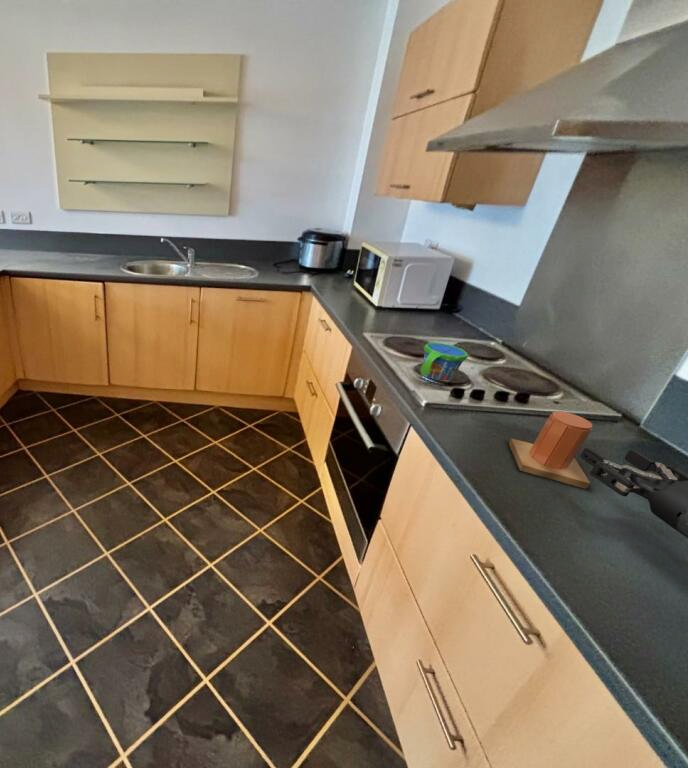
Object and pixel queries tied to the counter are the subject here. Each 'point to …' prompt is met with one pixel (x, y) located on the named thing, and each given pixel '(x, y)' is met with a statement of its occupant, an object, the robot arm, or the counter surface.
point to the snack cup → (441, 361)
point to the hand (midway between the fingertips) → (606, 453)
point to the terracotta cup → (560, 439)
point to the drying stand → (530, 465)
